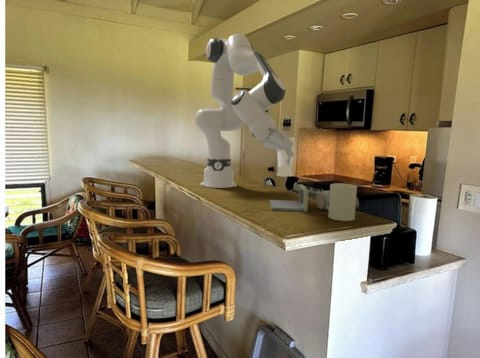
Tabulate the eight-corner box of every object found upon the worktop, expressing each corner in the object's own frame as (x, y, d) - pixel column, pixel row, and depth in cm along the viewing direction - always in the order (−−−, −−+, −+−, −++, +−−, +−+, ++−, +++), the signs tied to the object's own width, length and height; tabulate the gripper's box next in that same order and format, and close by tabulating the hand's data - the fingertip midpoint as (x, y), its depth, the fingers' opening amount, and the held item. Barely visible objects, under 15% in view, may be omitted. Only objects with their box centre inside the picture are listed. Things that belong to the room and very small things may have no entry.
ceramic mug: (313, 207, 137) (314, 188, 136) (331, 206, 140) (332, 187, 139) (328, 214, 127) (330, 194, 126) (347, 213, 130) (349, 193, 129)
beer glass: (277, 173, 140) (279, 136, 138) (294, 175, 138) (296, 137, 136) (273, 176, 133) (275, 136, 131) (291, 177, 131) (293, 137, 129)
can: (332, 220, 118) (335, 186, 117) (324, 214, 128) (326, 181, 126) (359, 221, 119) (362, 186, 117) (348, 214, 128) (351, 182, 126)
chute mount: (269, 202, 144) (270, 183, 143) (301, 203, 144) (302, 184, 143) (272, 210, 131) (272, 189, 129) (307, 211, 130) (308, 190, 129)
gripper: (282, 122, 121) (305, 151, 125) (260, 122, 140) (281, 147, 144) (270, 135, 120) (294, 163, 125) (249, 133, 139) (270, 158, 144)
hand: (286, 155), depth 135 cm, fingers closed on beer glass, 7 cm apart
